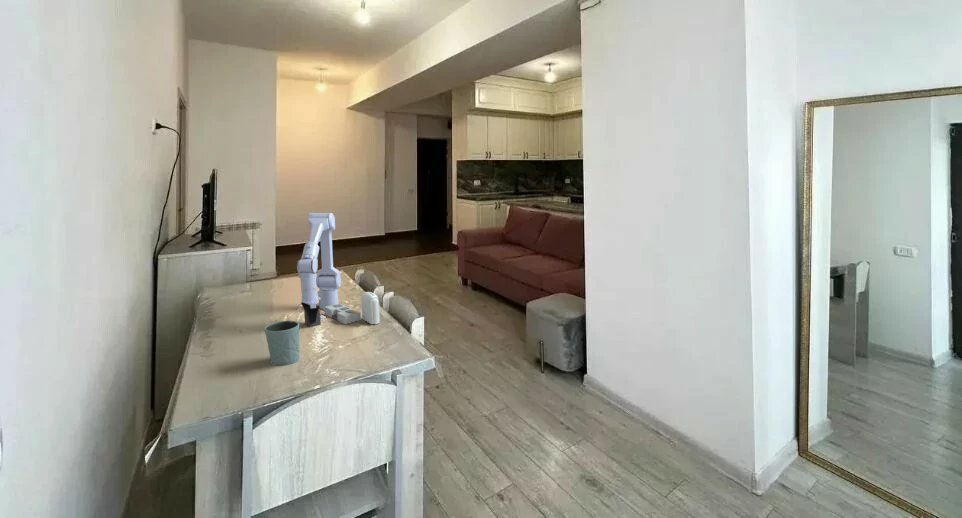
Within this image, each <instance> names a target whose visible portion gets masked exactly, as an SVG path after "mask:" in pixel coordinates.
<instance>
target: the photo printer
mask: <svg viewBox="0 0 962 518" xmlns="http://www.w3.org/2000/svg"><path fill="white" fill-rule="evenodd" d="M360 298H361V318H362V320H363V321H365V322H366V321H367V322H366V323H368V324H369V325H373V324H375V325H379V324H380V322H381V313H380V312H381V311H380V300H379V299H380V298H379V297H378V296H377V294H375V293H373V292H372V291H365V292H363V293H362V294H361V297H360ZM378 323H379V324H378Z"/></svg>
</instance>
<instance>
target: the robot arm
mask: <svg viewBox="0 0 962 518" xmlns="http://www.w3.org/2000/svg"><path fill="white" fill-rule="evenodd" d="M307 224H308V227H309V230H310V231H309V238H308V242H306V243H305V244H304V247H303V251H302V255H301V258H300V259H299V260H297V264H296V271H297V274H298V278H300V288H301V290H300V291H301V292H300V293H301V301H300V304H301V305H302V307H303V309H304V310H306V312H307V315H308V319H309V322H310V324H311V323H315V322H316V317H317V312H318V310H320V309H321V310H323V311H325V308H324V307H326V306H331V305H335V304H339V291H338V289H339V288H340V287H341V285H342V276H341V272H340V270H339V269H337V268H335V267H334V257H333V235H332V233H333V231H336V217H335V215H334V214H333V213H332V212H310V213H309V214H308V215H307ZM319 242H320V246H319V245H318V244H319ZM319 252H321V253H320V255H321V268H320V269H319V270H318V267H319V266H318V263H319V262H318V261H319V260H318V257H319ZM318 289H319V290H318ZM317 290H318V291H317ZM317 302H318V304H317Z"/></svg>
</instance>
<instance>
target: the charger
mask: <svg viewBox="0 0 962 518" xmlns="http://www.w3.org/2000/svg"><path fill="white" fill-rule="evenodd" d="M303 312H304V313H303V314H304V324H305V325H306V326H307V327H309V328H312V327H315V326H320V325H321V324H322V323H321V320H322V319H326V318H327V315H325V316H324V315H323V314H322V315H321V310H320V309H319V310H318V312H317V317H316V322H315V323H311V324H310V322H309V319H308V315H307V312H306V310H304V311H303Z"/></svg>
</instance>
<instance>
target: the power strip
mask: <svg viewBox="0 0 962 518" xmlns="http://www.w3.org/2000/svg"><path fill="white" fill-rule="evenodd" d="M324 308H325V310H324V315H325V316H326V317H329V318H331V319H333V320H336V321H338V322H340V323H341V324H344V325H348V323H349V324H352V323H351V322H353V323H356V322H355V321H357V322H360V321H359V320H361V318H362V315H361V312H360V311H358V310H356V309H353V308H351V307H349V306H346V305H344V304H342V303H338V304H335V305H331V306H326V307H324Z"/></svg>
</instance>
